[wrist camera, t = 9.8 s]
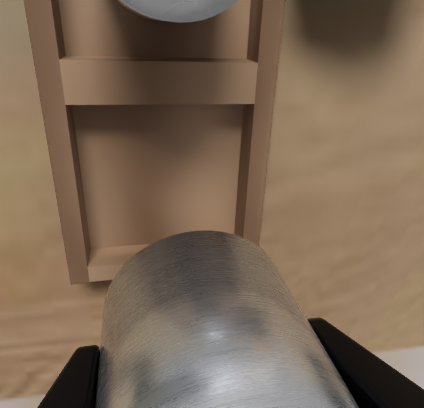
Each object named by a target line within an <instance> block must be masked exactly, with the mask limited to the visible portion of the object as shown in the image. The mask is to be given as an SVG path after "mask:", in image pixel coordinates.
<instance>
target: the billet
mask: <svg viewBox="0 0 424 408" xmlns="http://www.w3.org/2000/svg"><path fill="white" fill-rule="evenodd" d="M95 408H359V407H358V405H357V403H356V402H355V400H354V398H353V396H352V395H351V393H350V391H349V390H348V388H347V386H346V385H345V383H344V381H343V379H342V378H341V376H340V374H339V373H338V371H337V369H336V368H335V366H334V364H333V362H332V361H331V359H330V357H329V356H328V354H327V352H326V351H325V349H324V347H323V345H322V344H321V342H320V340H319V339H318V337H317V335H316V334H315V332H314V330H313V328H312V327H311V325H310V323H309V322H308V320H307V318H306V317H305V315H304V313H303V311H302V310H301V308H300V306H299V305H298V303H297V301H296V300H295V298H294V296H293V294H292V293H291V291H290V289H289V288H288V286H287V284H286V283H285V281H284V279H283V277H282V276H281V274H280V272H279V271H278V269H277V267H276V266H275V264H274V262H273V261H272V260H271V258H270V257H269V256H268V255H267V254H266V252H265V251H264V250H263V249H261V248H260V247H259V246H257V245H256V244H255V243H253V242H251V241H249V240H247V239H245V238H243V237H240V236H238V235H235V234H231V233H226V232H221V231H211V230H208V231H191V232H184V233H180V234H176V235H172V236H169V237H167V238H164V239H161V240H159V241H157V242H155V243H153V244H151V245H149V246H147V247H146V248H144V249H142V250H141V251H139V252H138V253H137V254H135V255H134V256H133V257H132V258H131V259H129V260H128V261H127V262H126V263H125V264H124V265H123V267H122V268H121V269H120V270H119V271H118V273H117V274H116V276H115V277H114V278H113V280H112V282H111V284H110V286H109V288H108V291H107V294H106V297H105V303H104V311H103V322H102V334H101V345H100V357H99V368H98V380H97V391H96V403H95Z"/></svg>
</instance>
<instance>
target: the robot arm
mask: <svg viewBox="0 0 424 408" xmlns="http://www.w3.org/2000/svg"><path fill="white" fill-rule="evenodd" d="M307 320H308V322H309V323H310V325H311V327H312V328H313V330H314V332H315V334H316V335H317V337H318V339H319V340H320V342H321V344H322V345H323V347H324V349H325V351H326V352H327V354H328V356H329V357H330V359H331V361H332V362H333V364H334V366H335V368H336V369H337V371H338V373H339V374H340V376H341V378H342V379H343V381H344V383H345V385H346V386H347V388H348V390H349V391H350V393H351V395H352V396H353V398H354V400H355V402H356V403H357V405H358V407H359V408H424V389H422V388H421V387H419V386H418V385H416V384H415V383H414V382H412V381H411V380H409V379H408V378H407V377H405V376H404V375H402V374H401V373H399V372H398V371H397V370H395V369H393V368H392V367H391V366H390V365H388V364H387V363H385V362H384V361H382V360H381V359H379V358H378V357H377V356H375V355H374V354H372V353H371V352H370V351H368V350H367V349H365V348H364V347H363V346H361V345H360V344H358V343H357V342H355V341H354V340H353V339H351V338H350V337H348V336H347V335H346V334H344V333H343V332H341V331H340V330H338V329H337V328H336V327H334V326H333V325H331V324H330V323H328V322H327V321H326V320H324V319H322V318H310V319H307ZM99 357H100V349H99V347H98V346H97V345H92V346H84V347H79V348H77V349H76V351H75V352H74V354H73V355H72V357H71V358H70V360H69V361H68V363H67V364H66V366H65V367H64V369H63V370H62V372H61V373H60V375H59V376H58V378H57V379H56V381H55V382H54V384H53V385H52V387H51V388H50V390H49V391H48V393H47V394H46V396H45V397H44V399H43V400H42V402H41V403H40V405H39V406H38V408H95V403H96V391H97V380H98V368H99Z"/></svg>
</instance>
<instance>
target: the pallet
mask: <svg viewBox="0 0 424 408" xmlns="http://www.w3.org/2000/svg"><path fill="white" fill-rule="evenodd" d="M24 4H25V10H26V17H27V23H28V29H29V35H30V41H31V47H32V53H33V59H34V65H35V71H36V77H37V83H38V89H39V95H40V101H41V107H42V113H43V119H44V125H45V131H46V137H47V143H48V149H49V155H50V161H51V167H52V173H53V179H54V185H55V192H56V198H57V204H58V210H59V216H60V222H61V228H62V234H63V240H64V246H65V252H66V258H67V264H68V270H69V276H70V282H71V285H72V284H82V283H90V282H94V281H104V280H113V278H114V277H115V276H116V274H117V273H118V271H119V270H120V269H121V268H122V267H123V265H124V264H125V263H126V262H127V261H128V260H129V259H131V258H132V257H133V256H134V255H135V254H137V253H138V252H139V251H141V250H142V249H144V248H146V247H147V246H149V245H151V244H153V243H155V242H157V241H159V240H161V239H164V238H167V237H169V236H172V235H176V234H180V233H184V232H191V231H208V230H211V231H221V232H226V233H231V234H235V235H238V236H240V237H243V238H245V239H247V240H249V241H251V242H253V243H255V244H256V245H257V246H259V238H260V229H261V219H262V210H263V201H264V191H265V182H266V173H267V163H268V154H269V145H270V135H271V126H272V116H273V107H274V98H275V88H276V79H277V70H278V60H279V51H280V42H281V32H282V23H283V14H284V4H285V0H238V1H237V2H236V3H235V4H234V5H232V6H231V7H229V8H228V9H226V10H225V11H223V12H221V13H219V14H217V15H215V16H213V17H210V18H207V19H204V20H199V21H194V22H170V21H161V20H152V19H148V18H144V17H142V16H139V15H137V14H135V13H133V12H131V11H129V10H128V9H127V8H125V7H124V6H123V5H121V4H120V3H119V2H118V1H117V0H24Z"/></svg>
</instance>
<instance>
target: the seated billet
mask: <svg viewBox="0 0 424 408" xmlns="http://www.w3.org/2000/svg"><path fill="white" fill-rule="evenodd" d="M117 1H118V2H119V3H120V4H121V5H123V6H124V7H125V8H127V9H128V10H129V11H131V12H133V13H135V14H137V15H139V16H142V17H144V18H148V19H152V20H161V21H170V22H194V21H199V20H204V19H207V18H210V17H213V16H215V15H217V14H219V13H221V12H223V11H225V10H226V9H228V8H229V7H231V6H232V5H234V4H235V3H236V2H237V1H238V0H117Z"/></svg>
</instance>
